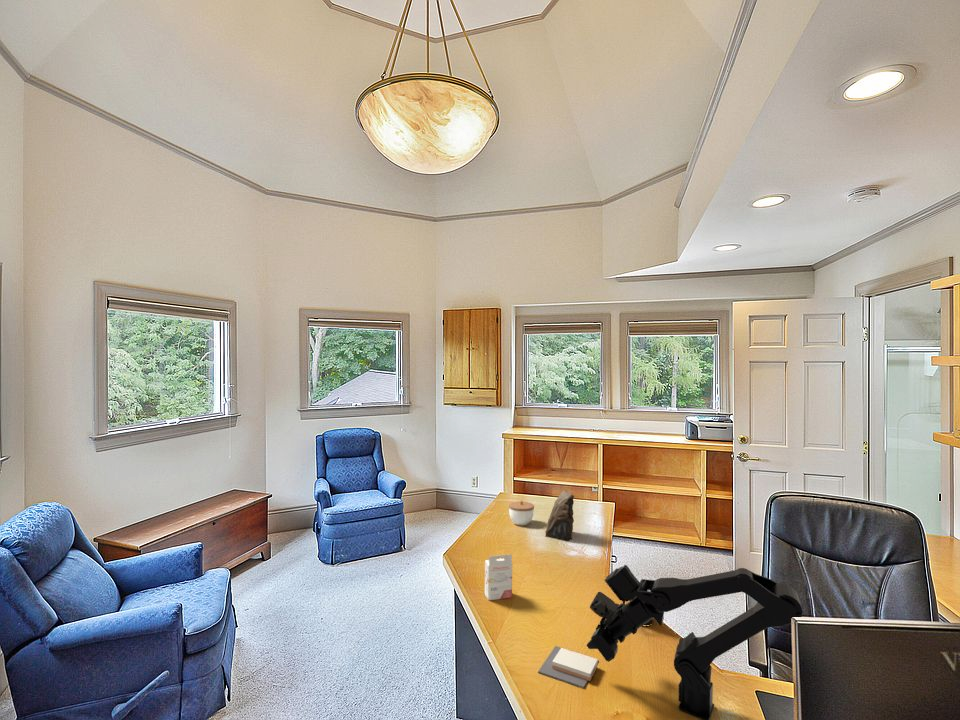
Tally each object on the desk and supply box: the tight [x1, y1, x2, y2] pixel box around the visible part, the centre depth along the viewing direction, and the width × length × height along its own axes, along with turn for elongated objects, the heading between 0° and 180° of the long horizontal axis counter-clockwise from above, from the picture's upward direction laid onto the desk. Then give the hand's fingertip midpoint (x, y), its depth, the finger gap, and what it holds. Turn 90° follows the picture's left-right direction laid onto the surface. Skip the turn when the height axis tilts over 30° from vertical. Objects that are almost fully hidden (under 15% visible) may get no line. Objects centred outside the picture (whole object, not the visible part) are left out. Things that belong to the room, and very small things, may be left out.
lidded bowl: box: [508, 500, 535, 526], centre depth 243 cm, size 13×13×11 cm
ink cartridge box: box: [484, 553, 513, 601], centre depth 166 cm, size 9×5×15 cm, turn 105°
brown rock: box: [544, 489, 575, 542], centre depth 225 cm, size 13×13×20 cm
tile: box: [552, 647, 599, 682], centre depth 127 cm, size 2×7×10 cm
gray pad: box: [537, 645, 597, 689], centre depth 128 cm, size 12×13×1 cm
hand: (588, 646), depth 126 cm, fingers closed
